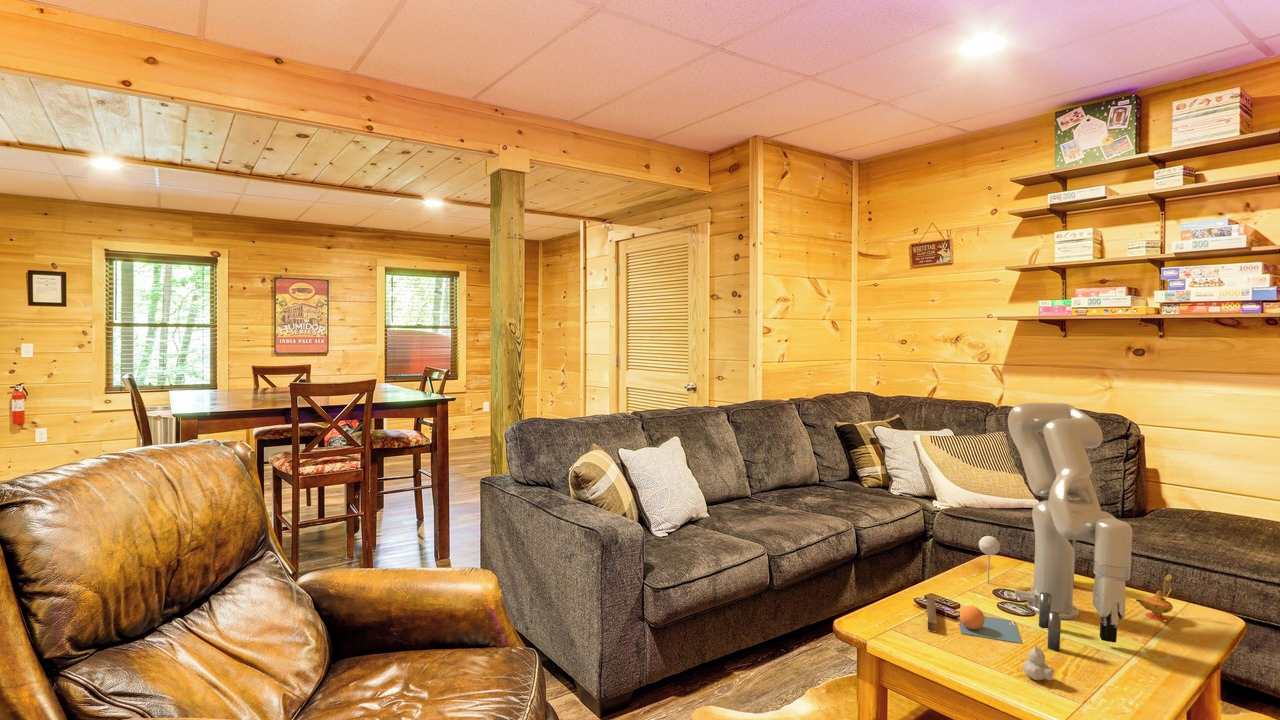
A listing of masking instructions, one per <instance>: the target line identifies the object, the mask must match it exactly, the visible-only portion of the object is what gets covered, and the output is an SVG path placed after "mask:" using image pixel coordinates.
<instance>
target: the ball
mask: <svg viewBox="0 0 1280 720" xmlns="http://www.w3.org/2000/svg"><path fill="white" fill-rule="evenodd" d="M959 612H960V620H961V622H962V624H963V625H964V626H965V627H966V628H968V629H971V630H977V629H980V628H981V627H982V626H983V625H984V622H985V618H984V616H985V615H984V613H983V611H982V610H981V609H979V608H978V607H977V606H974V605H965V606H964V607H963V608H962V609H961V610H960V611H959Z"/></svg>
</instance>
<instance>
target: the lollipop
mask: <svg viewBox="0 0 1280 720" xmlns="http://www.w3.org/2000/svg"><path fill="white" fill-rule="evenodd" d="M978 547H979V550H980V551H981V552H982V553H983V554H985V555H986V556H987V577H986V578H987V579H986V581H987V584H990V561H991V560H990V559H991V558H990V557H991V556H994V555H996V554H998V553H999V552H1000V548H1001V545H1000V542H999V540H998V539H997V538H995V537H994V536H991V535H985V536H983V537H981V538H980V540H979V541H978Z"/></svg>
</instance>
